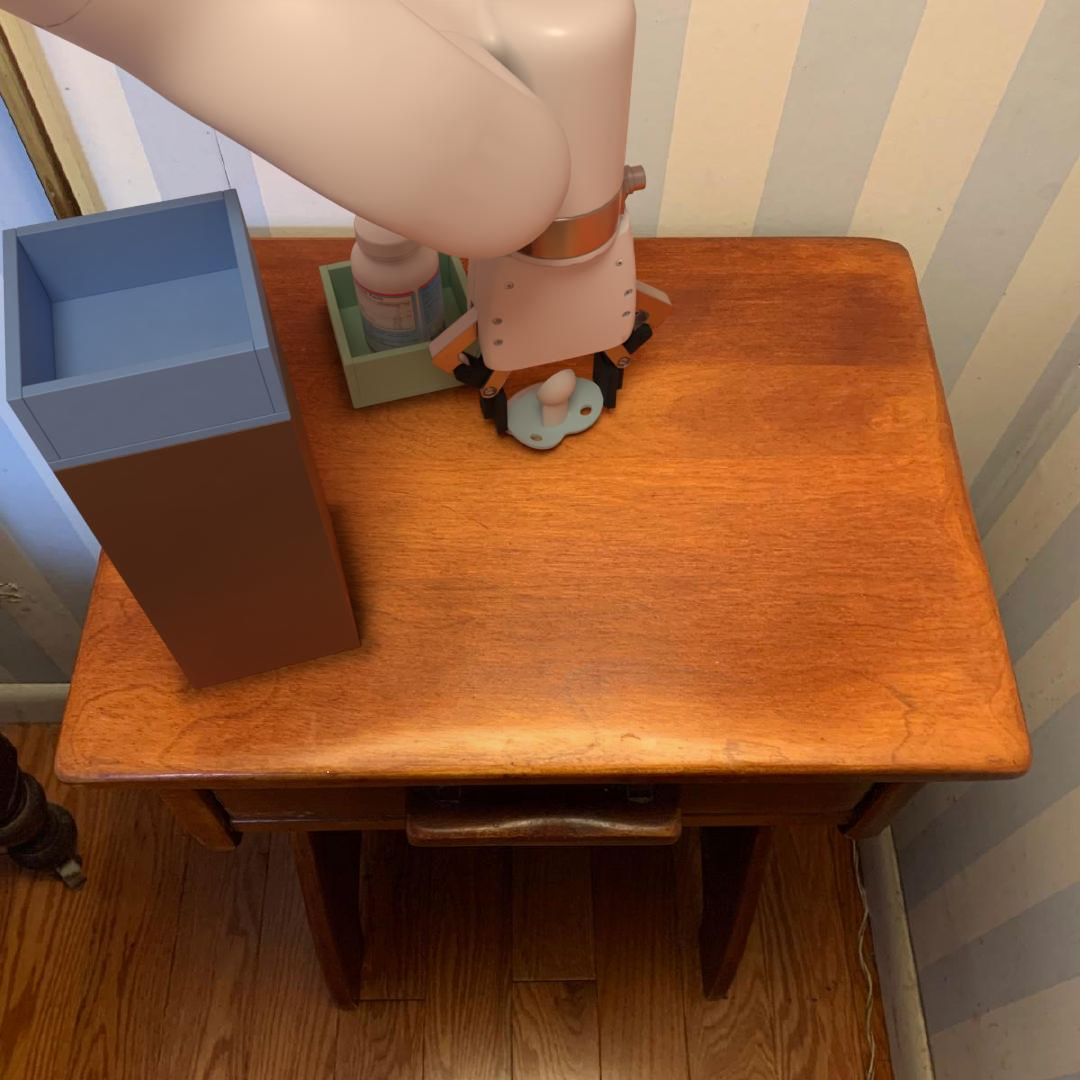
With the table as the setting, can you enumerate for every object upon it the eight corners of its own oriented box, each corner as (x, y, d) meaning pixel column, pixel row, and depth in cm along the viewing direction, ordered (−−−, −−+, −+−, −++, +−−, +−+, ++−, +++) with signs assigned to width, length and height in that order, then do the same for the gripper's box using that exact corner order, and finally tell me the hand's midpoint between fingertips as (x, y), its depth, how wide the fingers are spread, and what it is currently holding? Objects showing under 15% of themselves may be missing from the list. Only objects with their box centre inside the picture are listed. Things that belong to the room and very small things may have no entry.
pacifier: (481, 418, 74) (529, 471, 71) (475, 356, 69) (527, 411, 66) (562, 374, 76) (612, 424, 73) (563, 311, 71) (617, 362, 68)
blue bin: (194, 690, 62) (5, 400, 40) (176, 552, 67) (1, 229, 45) (360, 647, 64) (269, 346, 41) (331, 516, 69) (235, 187, 47)
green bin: (354, 409, 74) (344, 365, 70) (328, 311, 79) (318, 266, 75) (490, 379, 76) (488, 335, 72) (456, 285, 81) (453, 239, 77)
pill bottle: (418, 299, 79) (403, 177, 70) (462, 346, 77) (453, 226, 67) (350, 333, 77) (325, 212, 68) (393, 382, 75) (373, 263, 65)
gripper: (676, 133, 61) (648, 343, 76) (388, 188, 58) (418, 394, 73) (723, 215, 57) (685, 419, 72) (418, 277, 54) (443, 476, 69)
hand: (550, 405), depth 72 cm, fingers closed on pacifier, 7 cm apart
